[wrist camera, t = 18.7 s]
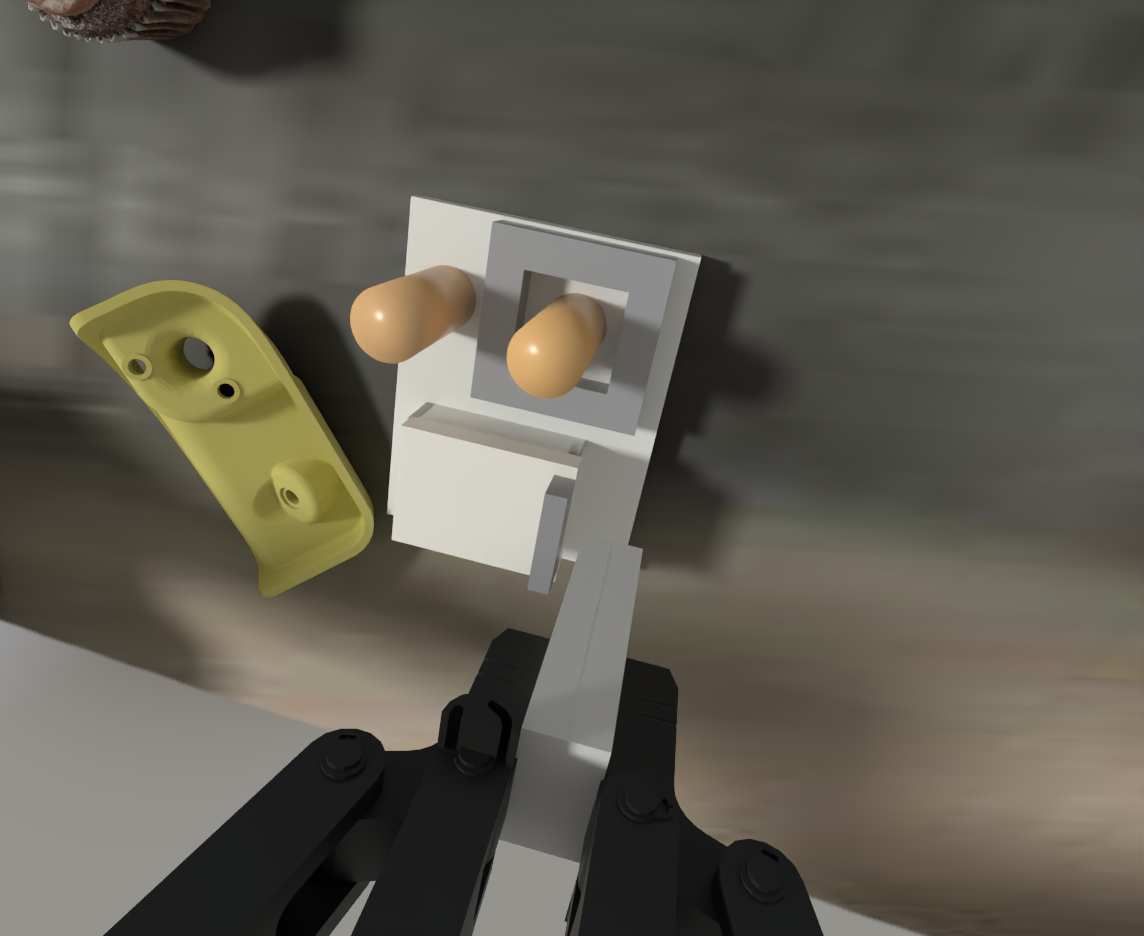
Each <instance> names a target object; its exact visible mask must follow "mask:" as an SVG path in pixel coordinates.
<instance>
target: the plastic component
mask: <svg viewBox="0 0 1144 936" xmlns="http://www.w3.org/2000/svg"><path fill="white" fill-rule="evenodd" d="M70 326H71V328H72V329H73V330H74V332H75V333H76V335H77V336H78V338H79V339H81V340H82V341H83V342H84V343H86V344H87V345H88V346H89V347H90V348H92V349H93V350H94V351H95V352H96V353H97V354H98V355H100V356H101V357H102V358H103V359H104V360H105V361H106V362H107V363H108V364H109V365H110V366H111V367H112V368H113V369H114V370H115V371H116V372H117V373H118V374H119V375H120V376H121V377H122V378H123V379H124V380H125V381H126V383H127V384H128V385H129V386H130V387H131V388H132V389H133V390H134V391H135V392H136V393H137V395H138V396H139V397H140V398H141V399H142V400H143V401H144V403H145V404H146V405H147V406H148V407H149V408H150V410H151V411H152V412H153V413H154V414H155V416H156V417H157V418H158V419H159V421H160V422H161V423H162V424H163V426H164V427H165V428H166V429H167V431H168V432H169V433H170V435H171V436H172V437H173V439H174V440H175V441H176V443H177V444H178V445H179V447H180V448H181V449H182V451H183V452H184V453H185V455H186V456H187V457H188V459H189V460H190V462H191V463H192V465H193V466H194V468H195V469H196V470H197V472H198V473H199V475H200V476H201V478H202V479H203V480H204V482H205V483H206V485H207V486H208V488H209V489H210V490H211V492H212V493H213V495H214V496H215V498H216V499H217V501H218V502H219V503H220V505H221V506H222V508H223V509H224V511H225V512H226V513H227V515H228V516H229V518H230V519H231V521H232V522H233V524H234V525H235V526H236V528H237V529H238V531H239V532H240V534H241V535H242V536H243V538H244V539H245V541H246V542H247V544H248V546H249V547H250V549H251V551H252V553H253V555H254V557H255V559H256V561H257V564H258V568H259V574H258V590H259V592H260V593H261V594H262V596H263V597H264V598H271V597H274V596H276V595H278V594H280V593H282V592H284V591H286V590H288V589H290V588H292V587H294V586H296V585H298V584H300V583H302V582H304V581H306V580H308V579H310V578H312V577H314V576H316V575H318V574H320V573H322V572H324V571H326V570H328V569H330V568H332V567H334V566H336V565H338V564H340V563H342V562H344V561H346V560H348V559H350V558H352V557H354V556H356V555H357V554H359V553H360V552H361V551H362V550H364V548H365V547H366V546H367V545H368V543H369V542H370V539H371V537H372V535H373V529H374V508H373V503H372V500H371V498H370V496H369V494H368V493H367V491H366V489H365V488H364V486H363V484H362V483H361V481H360V479H359V477H358V476H357V474H356V472H355V471H354V469H353V467H352V466H351V464H350V462H349V461H348V459H347V457H346V456H345V454H344V452H343V450H342V449H341V447H340V445H339V444H338V442H337V440H336V439H335V437H334V435H333V434H332V432H331V430H330V428H329V427H328V425H327V423H326V422H325V420H324V418H323V417H322V415H321V413H320V412H319V410H318V408H317V406H316V405H315V403H314V401H313V400H312V398H311V396H310V395H309V393H308V391H307V390H306V388H305V386H304V384H303V383H302V381H301V380H300V379H299V378H298V377H296V376H294V374H293V373H292V371H291V370H290V368H289V366H288V365H287V363H286V361H285V360H284V358H283V357H282V355H281V354H280V352H279V351H278V349H277V348H276V346H275V345H274V344H273V342H272V341H271V340H270V339H269V338H268V337H267V335H266V334H265V333H264V332H263V331H262V330H261V329H260V327H259V326H258V325H257V324H256V323H255V322H254V320H253V319H252V318H251V317H250V316H249V315H248V314H247V313H246V312H245V311H244V310H243V309H242V308H241V307H239V306H238V305H237V304H236V303H235V302H233V301H232V300H231V299H229V298H228V297H226V296H225V295H223V294H221V293H220V292H218V291H216V290H214V289H212V288H210V287H207V286H204V285H201V284H197V283H193V282H187V281H179V280H164V281H155V282H151V283H147V284H144V285H140V286H137V287H135V288H132V289H130V290H127V291H125V292H123V293H121V294H118V295H116V296H114V297H112V298H110V299H108V300H106V301H104V302H101V303H99V304H97V305H95V306H93V307H90V308H88V309H86V310H84V311H81V312H79V313H77V314H76V315H75V316H73V317H72V319H71V321H70ZM188 337H193V338H197V339H200V340H202V341H204V342H205V343H206V344H207V345H208V346H209V347H210V348H211V350H212V351H213V354H214V358H215V362H214V366H213V369H207V370H204V369H200V368H197V367H195V366H193V365H192V364H190V362H189V361H188V360H187V359H186V357H185V354H184V351H183V348H184V342H185V341H186V339H187V338H188ZM135 359H139V360H141V361H143V362H144V363H145V365H146V371H145V373H144V371H143V370H142V369H141V367H140V366H139V364H138V363H137V361H136V360H135ZM223 383H225V384H230V385H231V386H232V387H233V388H234V391H235V392H234V395H233V396H231V397H226V396H224V395H223V394H221V393H220V389H219V388H220V385H221V384H223ZM293 493H294V494H295V495H296V496H297V497H296V496H295V495H294V494H293Z"/></svg>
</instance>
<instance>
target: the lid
mask: <svg viewBox="0 0 1144 936" xmlns="http://www.w3.org/2000/svg"><path fill="white" fill-rule="evenodd" d="M582 458H583V457H580V456H576V455H572V454H568V453H564V452H560V451H555V450H551V449H547V448H543V447H539V446H535V445H530V444H526V443H522V442H518V441H514V440H510V439H506V438H501V437H497V436H493V435H489V434H485V433H481V432H477V431H472V430H468V429H464V428H460V427H456V426H452V425H448V424H443V423H439V422H435V421H431V420H427V419H423V418H418V417H414V416H412V417H410V418H409V419H408V420H407V421H406V422H404V423H403V424H402V425H401V430H400V443H399V455H398V467H397V479H396V492H395V504H394V516H393V528H392V540H394V541H398V542H402V543H406V544H410V545H414V546H418V547H421V548H425V549H429V550H433V551H437V552H441V553H445V554H449V555H453V556H456V557H460V558H464V559H468V560H472V561H476V562H480V563H484V564H487V565H491V566H495V567H499V568H503V569H507V570H511V571H515V572H518V573H522V574H526V575H530V576H529V581H528V586H527V590H530V591H534V592H538V593H542V594H546V595H548V594H549V591H550V589H551V586H552V583H553V582H555V579H556V576H557V574H558V571H559V568H560V564H561V559H562V554H563V549H564V545H565V540H566V535H567V530H568V526H569V521H570V516H571V511H572V506H573V502H574V497H575V492H576V487H577V482H578V478H579V473H580V468H581V463H582Z"/></svg>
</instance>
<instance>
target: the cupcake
mask: <svg viewBox="0 0 1144 936" xmlns="http://www.w3.org/2000/svg"><path fill="white" fill-rule="evenodd" d="M25 1H26V2H28V7H29V9H30V10H31V11H36V10H39V14H40V17H41V20H42V21H50V22H51V25H52V27H53V29H54V30H63V33H64V35H66V36H68V37H76V38H77V39H78V40H86V41H87V42H92V41H100V42H101V43H102V44H104V43H111V42H119V41H128V40H172V39H176V38H177V37H179V36H182V35H185V34H189V33H190V32H191V31H192V29H193V28H194V26H195V25H196V24H198V23H200V22H201V21H203V18H204V14H205V11H206V10H207V9H208V8H210V7H211V0H25Z"/></svg>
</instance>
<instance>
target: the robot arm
mask: <svg viewBox="0 0 1144 936" xmlns="http://www.w3.org/2000/svg"><path fill="white" fill-rule="evenodd" d="M642 552H643V549H641V548H637V547H633V546H629V545H625V544H622V543H618V542H614V541H610V540H606V539H602V538H598V537H594V536H590V535H586V534H584V537H583V540H582V543H581V546H580V549H579V552H578V555H577V559H576V562H575V565H574V568H573V571H572V574H571V577H570V580H569V583H568V586H567V589H566V592H565V595H564V599H563V602H562V605H561V608H560V611H559V614H558V617H557V620H556V623H555V626H554V629H553V632H552V635H551V639H548V638H544V637H540V636H536V635H533V634H529V633H525V632H521V631H517V630H514V629H510V628H508V629H507V630H505V631H504V632H503V633H501V634H500V635H499V636H498V637H496V638H495V639H494V640H493V641H492V643H491V645H490V647H489V649H488V652H487V654H486V656H485V659H484V661H483V663H482V665H481V667H480V669H479V672H478V675H477V676H476V678H475V681H474V683H473V685H472V687H471V689H470V692H469V694H464V695H461V696H459V697H457V698H455V699H454V700H452V701H450V702H449V703H448V705H447V706H446V707H445V708H444V710H443V711H442V714H441V722H440V729H439V737H438V743H436V744H434V745H432V746H430V747H427V748H423V749H420V750H411V751H385V750H384V748H383V745H382V743H381V741H379V740H378V739H377V738H376V737H375V736H373V735H372V734H371V733H368V732H365V731H362V730H359V729H339V730H335V731H332V732H329V733H325V734H324V735H322V736H321V737H319V738H318V739H316V740H315V741H313V742H312V743H311V744H310V745H309V746H307V747H306V748H305V749H304V750H303V751H302V752H301V753H300V754H299V755H298V756H297V757H295V758H294V759H293V760H292V761H291V762H290V763H289V764H288V765H287V766H286V767H285V768H284V769H283V770H281V771H280V772H279V773H278V774H277V775H276V776H275V777H274V778H273V779H272V780H271V781H270V782H268V783H267V784H266V785H265V786H264V787H263V788H262V789H261V790H260V791H259V792H258V793H257V794H256V795H254V796H253V797H252V798H251V799H250V800H249V801H248V802H247V803H246V804H245V805H244V806H243V807H242V808H241V809H239V810H238V811H237V812H236V813H235V814H234V815H233V816H232V817H231V818H230V819H229V820H227V821H226V822H225V823H224V824H223V825H222V826H221V827H220V828H219V829H218V830H217V831H216V832H214V833H213V834H212V835H211V836H210V837H209V838H208V839H207V840H206V841H205V842H204V843H203V844H201V845H200V846H199V847H198V848H197V849H196V850H195V851H194V852H193V853H192V854H191V855H190V856H189V857H188V858H186V860H184V861H183V862H182V863H181V864H180V865H179V866H178V867H177V868H176V869H175V870H173V871H172V872H171V873H170V874H169V875H168V876H167V877H166V878H165V879H164V880H163V881H162V882H161V883H159V884H158V885H157V886H156V887H155V888H154V889H153V890H152V891H151V892H150V893H149V894H148V895H146V896H145V897H144V898H143V899H142V900H141V901H140V902H139V903H138V904H137V905H136V906H135V907H134V908H132V909H131V910H130V911H129V912H128V913H127V914H126V915H125V916H124V917H123V918H122V919H121V920H119V921H118V922H117V923H116V924H115V925H114V926H113V927H112V928H111V929H110V930H109V931H108V932H107V933H105V934H104V935H103V936H329V935H330V934H331V933H332V931H333V930H334V929H335V927H336V926H337V925H338V923H339V922H340V921H341V919H342V918H343V917H344V916H345V914H346V913H347V912H348V910H349V909H350V907H351V906H352V905H353V904H354V903H355V901H356V900H357V899H358V897H359V896H360V895H361V893H362V892H363V891H364V889H365V888H366V887H367V885H368V884H369V882H370V881H376V882H375V885H374V886H373V889H372V891H371V893H370V895H369V897H368V899H367V902H366V904H365V906H364V908H363V910H362V913H361V915H360V917H359V919H358V921H357V924H356V926H355V928H354V930H353V932H352V935H351V936H472V933H473V930H474V926H475V923H476V920H477V917H478V913H479V910H480V906H481V903H482V900H483V897H484V893H485V890H486V886H487V883H488V880H489V876H490V873H491V870H492V864H493V860H494V855H495V850H496V847H497V844H498V841H499V839H500V840H503V841H507V842H510V843H513V844H517V845H521V846H524V847H527V848H531V849H534V850H537V851H541V852H544V853H548V854H551V855H554V856H558V857H561V858H565V859H568V860H572V861H575V862H579V863H580V866H579V872H578V876H577V880H576V884H575V887H574V890H573V894H572V897H571V901H570V904H569V907H568V911H567V914H566V918H565V921H566V922H567V927H566V932H565V936H823V933H822V930H821V927H820V925H819V922H818V920H817V917H816V914H815V911H814V909H813V906H812V904H811V901H810V898H809V895H808V893H807V890H806V887H805V885H804V882H803V880H802V878H801V876H800V875H799V873H798V871H797V869H796V867H795V866H794V865H793V864H792V862H791V861H790V860H789V859H788V858H787V857H786V856H785V855H784V854H783V853H782V852H780V851H779V850H777V849H775V848H774V847H772V846H770V845H769V844H767V843H765V842H761V841H757V840H753V839H745V840H738V841H735V842H733V843H732V844H731V845H729V846H728V847H727V846H725V845H723V844H722V843H720V842H719V841H717V840H715V839H714V838H712V837H710V836H709V835H707V834H705V833H704V832H703V831H701V830H700V829H699V828H697V827H696V826H695V825H694V824H693V823H692V822H691V821H690V820H689V819H688V818H687V817H686V816H685V814H684V813H683V811H682V810H681V808H680V806H679V804H678V802H677V799H676V796H675V790H674V773H675V750H676V724H677V703H678V687H677V685H676V683H675V681H674V678H673V676H672V674H671V672H670V670H669V669H667V668H663V667H659V666H656V665H652V664H648V663H644V662H640V661H637V660H633V659H629V658H626V655H627V649H628V642H629V636H630V629H631V623H632V616H633V610H634V603H635V597H636V590H637V584H638V577H639V571H640V565H641V558H642Z"/></svg>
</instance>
